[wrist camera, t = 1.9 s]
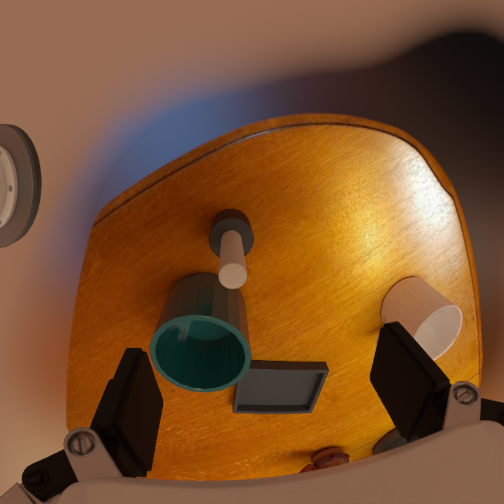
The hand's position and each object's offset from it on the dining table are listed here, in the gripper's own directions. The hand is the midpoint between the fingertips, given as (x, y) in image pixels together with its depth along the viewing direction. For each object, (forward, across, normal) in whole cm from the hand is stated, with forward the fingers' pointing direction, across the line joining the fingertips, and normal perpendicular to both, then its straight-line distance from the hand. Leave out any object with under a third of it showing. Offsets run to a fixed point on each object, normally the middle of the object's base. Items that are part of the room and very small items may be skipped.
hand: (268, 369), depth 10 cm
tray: (+24, -4, +26) cm, 36 cm away
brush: (+24, +1, 0) cm, 24 cm away
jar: (+24, +5, +11) cm, 27 cm away
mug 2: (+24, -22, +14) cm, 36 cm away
